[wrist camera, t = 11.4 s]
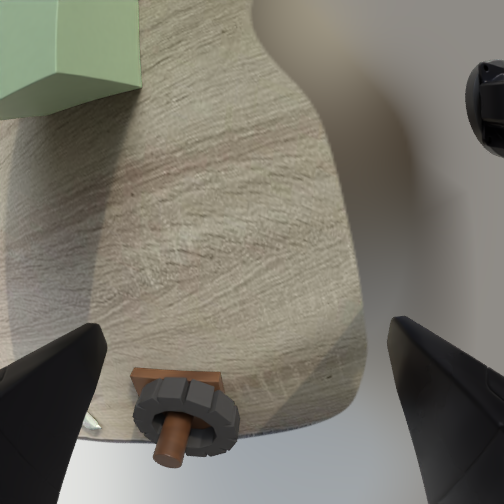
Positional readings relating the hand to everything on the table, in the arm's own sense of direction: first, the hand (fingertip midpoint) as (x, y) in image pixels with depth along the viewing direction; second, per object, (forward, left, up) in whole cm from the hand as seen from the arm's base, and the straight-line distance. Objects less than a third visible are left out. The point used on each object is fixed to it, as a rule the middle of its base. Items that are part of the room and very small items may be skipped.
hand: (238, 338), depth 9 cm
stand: (+8, +17, -12) cm, 22 cm away
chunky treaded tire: (+7, +17, -11) cm, 22 cm away
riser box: (+10, -13, -12) cm, 20 cm away
